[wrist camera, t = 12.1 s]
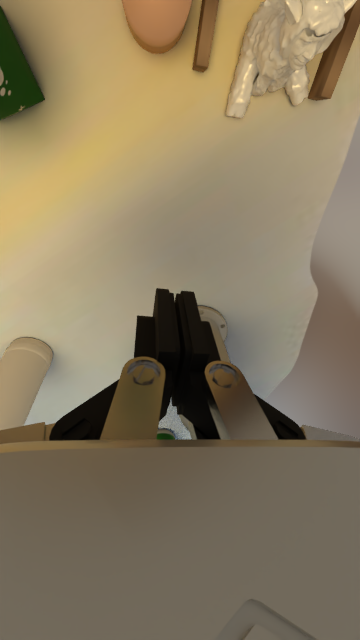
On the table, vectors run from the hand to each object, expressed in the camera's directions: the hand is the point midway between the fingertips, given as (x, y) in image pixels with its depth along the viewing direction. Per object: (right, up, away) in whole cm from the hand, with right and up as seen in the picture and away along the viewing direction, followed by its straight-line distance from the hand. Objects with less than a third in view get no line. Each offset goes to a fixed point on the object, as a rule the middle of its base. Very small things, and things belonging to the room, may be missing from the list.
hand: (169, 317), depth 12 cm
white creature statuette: (+10, +28, +17) cm, 34 cm away
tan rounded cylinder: (-2, +30, +13) cm, 33 cm away
